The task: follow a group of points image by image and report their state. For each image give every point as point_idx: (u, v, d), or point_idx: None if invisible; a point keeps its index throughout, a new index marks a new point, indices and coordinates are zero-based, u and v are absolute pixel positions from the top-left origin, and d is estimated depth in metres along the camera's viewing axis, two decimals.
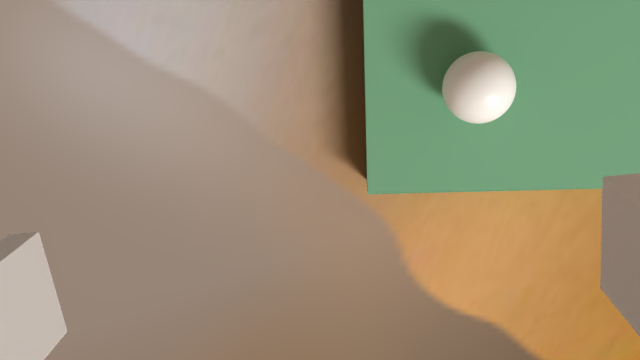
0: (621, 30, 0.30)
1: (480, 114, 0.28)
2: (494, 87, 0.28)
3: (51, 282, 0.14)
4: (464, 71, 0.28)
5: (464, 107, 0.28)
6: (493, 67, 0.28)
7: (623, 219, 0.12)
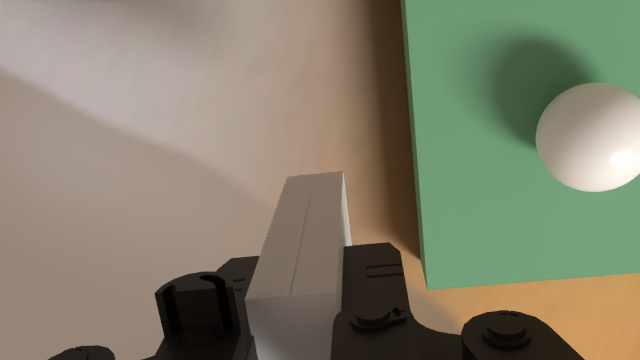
0: None
1: (604, 182, 0.18)
2: (628, 141, 0.17)
3: None
4: (576, 118, 0.18)
5: (578, 174, 0.18)
6: (623, 109, 0.18)
7: None
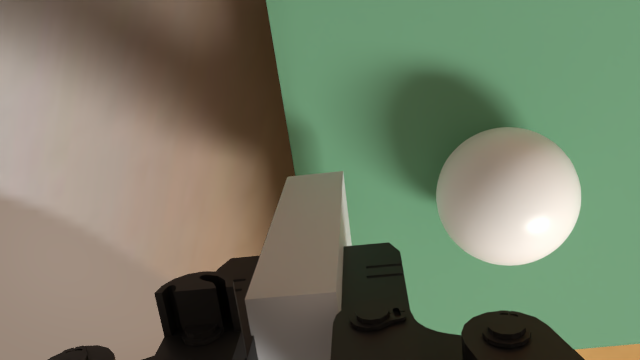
0: None
1: (515, 257, 0.14)
2: (540, 208, 0.13)
3: None
4: (475, 178, 0.14)
5: (482, 247, 0.14)
6: (534, 166, 0.14)
7: None
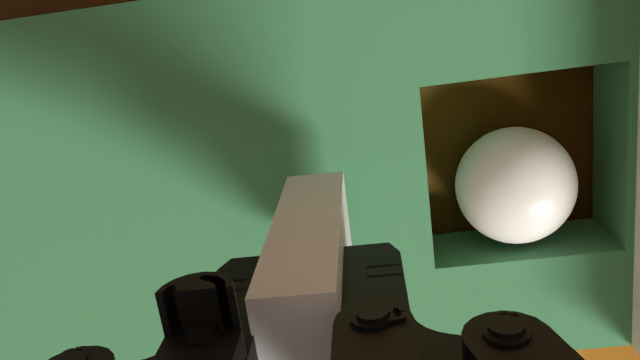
0: (347, 113, 0.17)
1: (559, 226, 0.17)
2: (576, 177, 0.17)
3: None
4: (534, 166, 0.16)
5: (544, 224, 0.17)
6: (560, 147, 0.17)
7: None
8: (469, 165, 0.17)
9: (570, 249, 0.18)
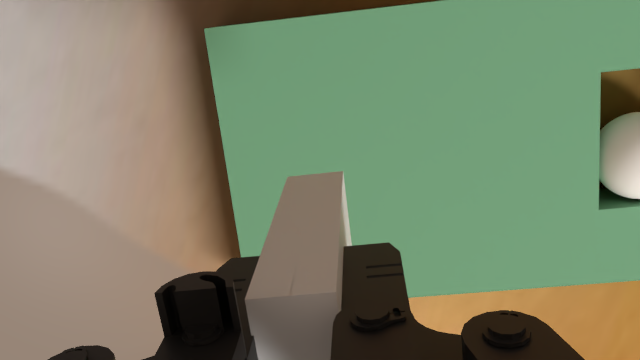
0: (545, 90, 0.23)
1: None
2: None
3: None
4: None
5: None
6: None
7: None
8: (601, 138, 0.24)
9: None
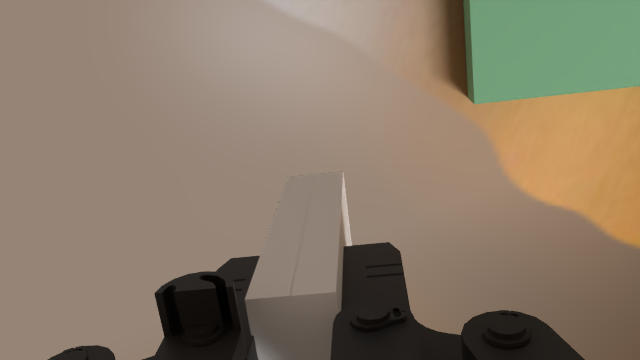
0: None
1: None
2: None
3: None
4: None
5: None
6: None
7: None
8: None
9: None
